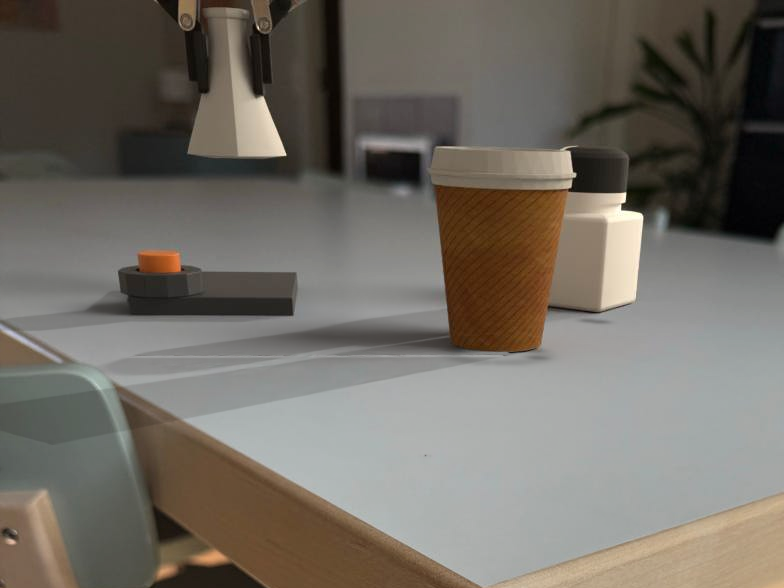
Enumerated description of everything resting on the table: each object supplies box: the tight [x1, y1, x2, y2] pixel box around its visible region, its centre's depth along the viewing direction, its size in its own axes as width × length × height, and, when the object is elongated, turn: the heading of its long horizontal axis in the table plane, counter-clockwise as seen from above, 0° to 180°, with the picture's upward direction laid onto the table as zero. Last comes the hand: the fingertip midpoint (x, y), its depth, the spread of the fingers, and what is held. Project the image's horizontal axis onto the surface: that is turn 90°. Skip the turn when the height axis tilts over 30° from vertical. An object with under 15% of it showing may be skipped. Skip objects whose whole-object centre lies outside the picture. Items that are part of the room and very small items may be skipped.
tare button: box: [137, 250, 181, 273], centre depth 74 cm, size 3×3×2 cm
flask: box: [186, 6, 287, 160], centre depth 76 cm, size 7×7×10 cm
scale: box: [117, 264, 299, 317], centre depth 79 cm, size 13×14×3 cm
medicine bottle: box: [548, 145, 644, 313], centre depth 81 cm, size 7×7×12 cm
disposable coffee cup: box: [426, 145, 576, 353], centre depth 65 cm, size 10×10×12 cm
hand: (232, 91), depth 76 cm, fingers closed on flask, 3 cm apart
